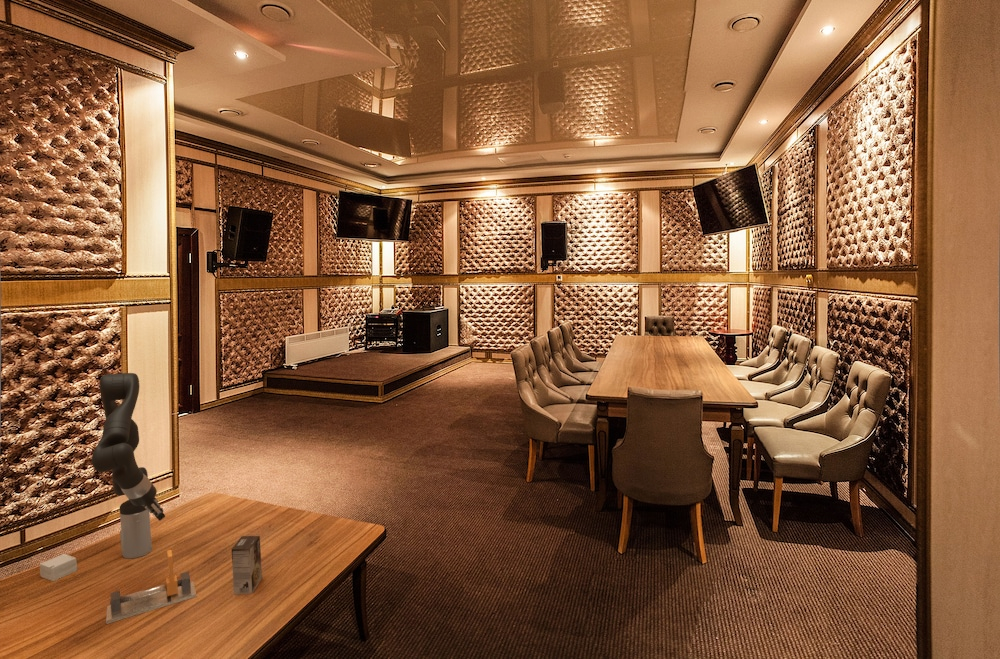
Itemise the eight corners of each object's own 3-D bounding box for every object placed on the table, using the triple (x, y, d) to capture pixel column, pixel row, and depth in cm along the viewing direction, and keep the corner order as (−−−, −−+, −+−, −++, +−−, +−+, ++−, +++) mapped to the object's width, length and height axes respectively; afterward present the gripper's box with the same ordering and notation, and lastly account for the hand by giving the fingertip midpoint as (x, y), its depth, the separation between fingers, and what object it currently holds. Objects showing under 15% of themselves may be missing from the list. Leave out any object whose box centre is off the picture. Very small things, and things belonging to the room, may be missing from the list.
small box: (65, 566, 194) (64, 552, 193) (78, 570, 191) (76, 557, 190) (40, 577, 187) (38, 563, 186) (52, 582, 183) (51, 568, 183)
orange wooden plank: (167, 596, 172) (164, 558, 170) (166, 589, 176) (163, 551, 174) (178, 593, 173) (175, 555, 172) (177, 586, 177) (174, 548, 176)
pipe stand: (106, 624, 161) (104, 605, 160) (107, 609, 168) (105, 591, 168) (196, 596, 175) (195, 579, 174) (193, 583, 182) (192, 567, 181)
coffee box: (243, 579, 185) (241, 535, 183) (262, 578, 185) (260, 534, 184) (232, 595, 176) (230, 549, 174) (252, 594, 176) (250, 548, 175)
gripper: (159, 490, 172) (181, 519, 183) (140, 471, 178) (162, 500, 189) (136, 506, 167) (160, 535, 178) (117, 486, 173) (141, 516, 184)
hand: (161, 517), depth 183 cm, fingers closed
